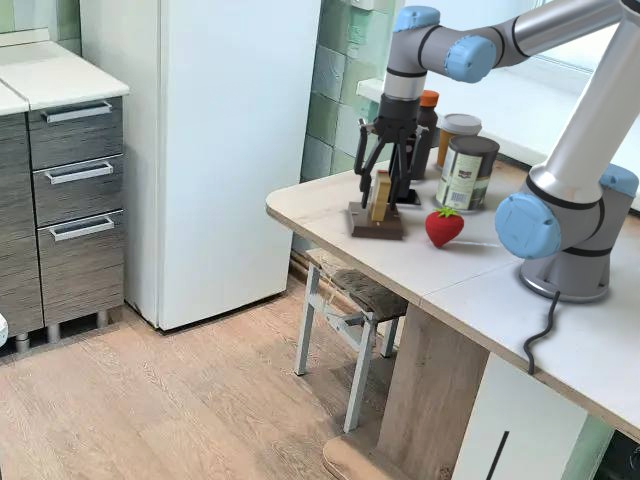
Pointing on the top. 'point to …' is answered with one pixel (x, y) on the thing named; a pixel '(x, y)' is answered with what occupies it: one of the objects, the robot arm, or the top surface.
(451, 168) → the coffee can
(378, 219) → the thumb turn
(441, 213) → the strawberry
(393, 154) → the bracket
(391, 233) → the plate
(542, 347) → the top surface
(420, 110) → the bottle
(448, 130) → the disposable coffee cup
